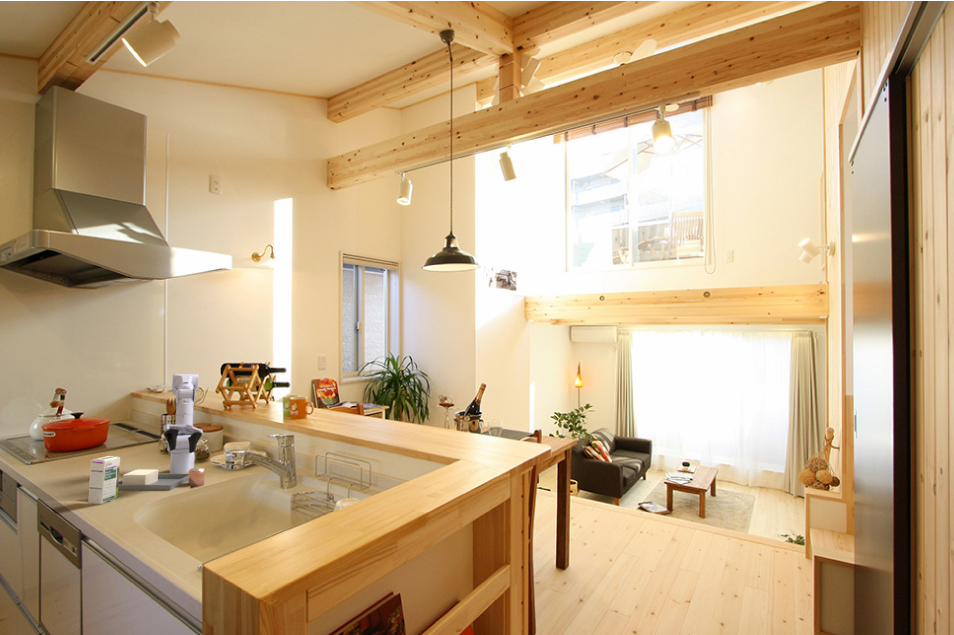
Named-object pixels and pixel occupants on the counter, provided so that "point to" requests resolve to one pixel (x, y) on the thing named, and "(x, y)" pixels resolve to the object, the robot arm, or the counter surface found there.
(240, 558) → the counter surface
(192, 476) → the tin can
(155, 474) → the plain cream box
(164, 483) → the tray
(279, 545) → the counter surface
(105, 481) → the syrup box
